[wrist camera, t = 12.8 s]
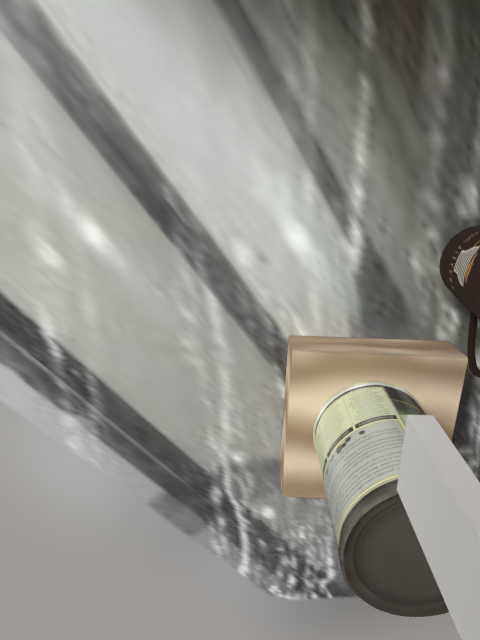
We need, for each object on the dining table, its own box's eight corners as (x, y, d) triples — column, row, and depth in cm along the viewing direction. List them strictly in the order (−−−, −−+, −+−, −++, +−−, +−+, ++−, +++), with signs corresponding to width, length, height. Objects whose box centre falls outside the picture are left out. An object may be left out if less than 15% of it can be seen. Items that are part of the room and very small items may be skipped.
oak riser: (289, 335, 43) (292, 351, 39) (449, 341, 43) (468, 358, 39) (279, 470, 48) (282, 496, 44) (423, 475, 48) (438, 502, 44)
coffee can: (438, 385, 40) (533, 495, 26) (411, 484, 43) (484, 625, 30) (321, 373, 40) (357, 477, 26) (303, 472, 43) (327, 609, 30)
